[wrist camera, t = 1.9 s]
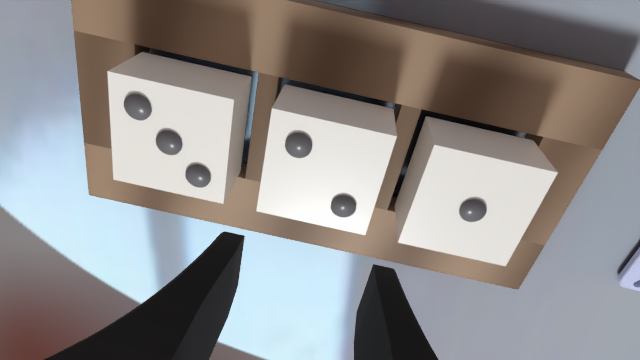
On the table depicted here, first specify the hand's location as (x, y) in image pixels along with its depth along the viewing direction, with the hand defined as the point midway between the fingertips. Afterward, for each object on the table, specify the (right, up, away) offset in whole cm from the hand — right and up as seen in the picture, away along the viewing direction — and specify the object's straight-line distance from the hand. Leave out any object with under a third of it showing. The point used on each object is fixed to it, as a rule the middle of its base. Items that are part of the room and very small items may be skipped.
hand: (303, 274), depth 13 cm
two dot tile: (+1, +4, +8) cm, 9 cm away
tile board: (+1, +5, +9) cm, 10 cm away
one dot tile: (+7, +3, +8) cm, 11 cm away
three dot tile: (-5, +6, +8) cm, 11 cm away
